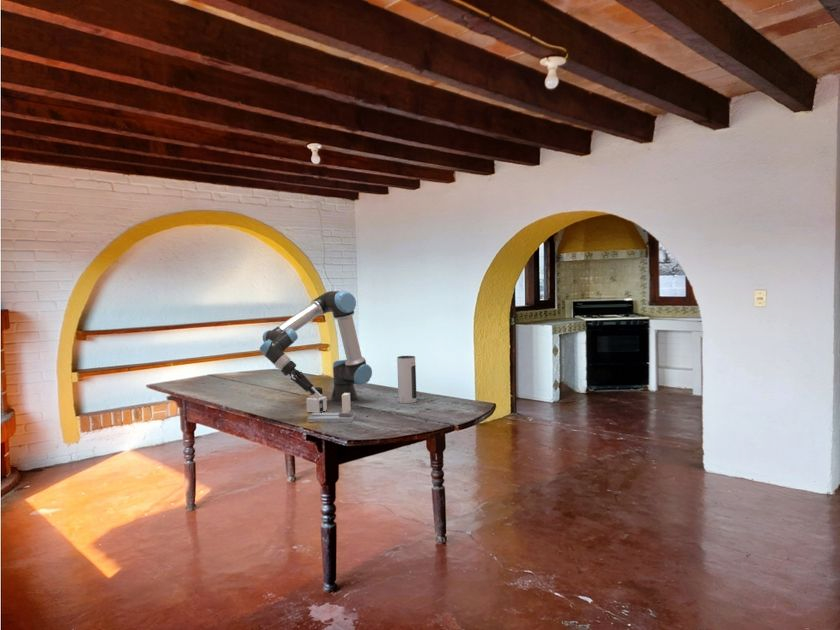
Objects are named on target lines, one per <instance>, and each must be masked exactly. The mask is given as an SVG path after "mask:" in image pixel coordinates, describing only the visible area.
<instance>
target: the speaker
mask: <svg viewBox="0 0 840 630" xmlns="http://www.w3.org/2000/svg"><path fill="white" fill-rule="evenodd" d="M396 359H397V360H396V362H397V364H396V365H397V367H396V368H397V391H398V392H397V394H398V396H397V397H398V403H399V404H402V403H404V404H405V405H406V403H410V404H415V403H417V401H418V400H417V380H416V379H417V372H416V367H417V366H416V365H417V364H416V356H414V355H400V356H397V358H396Z"/></svg>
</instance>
